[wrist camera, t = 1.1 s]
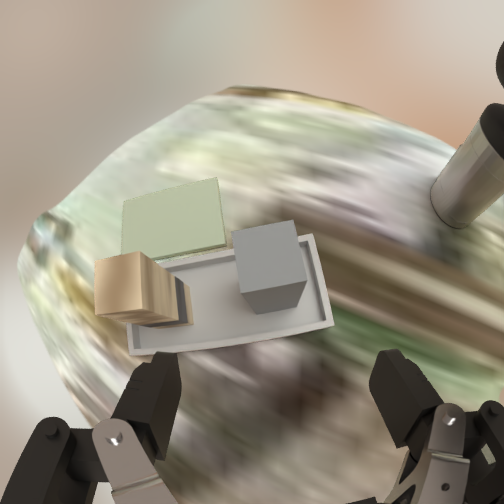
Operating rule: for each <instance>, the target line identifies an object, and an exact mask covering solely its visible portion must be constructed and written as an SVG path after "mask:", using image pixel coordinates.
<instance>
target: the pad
mask: <svg viewBox="0 0 504 504" xmlns="http://www.w3.org/2000/svg"><path fill="white" fill-rule="evenodd" d="M224 246H227V245H226V237H225V230H224V223H223V216H222V208H221V201H220V193H219V185H218V180H217V177H215V178H211V179H206V180H202V181H198V182H193V183H189V184H185V185H181V186H177V187H173V188H169V189H166V190H162V191H158V192H154V193H151V194H147V195H144V196H140V197H137V198H133V199H130V200H127V201H124V203H123V220H122V250H121V255H123V254H127V253H132V252H136V251H141V252H142V253H144V254H145V255H146V256H148V257H149V258H150V259H152V260H153V261H154V260H159V259H164V258H169V257H174V256H179V255H184V254H189V253H194V252H199V251H204V250H209V249H214V248H219V247H224Z"/></svg>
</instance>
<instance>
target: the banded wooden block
mask: <svg viewBox="0 0 504 504" xmlns="http://www.w3.org/2000/svg"><path fill="white" fill-rule="evenodd" d="M94 290H95V315H98V316H102V317H106V318H110V319H114V320H119V321H123V322H127V323H132V324H136V325H140V326H144V327H149V328H156V329H163V328H172V327H179V326H187V325H194V321H193V313H192V304H191V296H190V287H189V286H188V285H186V284H185V283H183V281H181V280H180V279H178V278H177V277H176V276H174V275H172V274H171V273H169V272H168V271H167V270H165V269H164V268H163V267H161V266H160V265H158V264H157V263H156V262H154V261H153V260H152V259H150V258H149V257H148V256H146V255H145V254H144V253H142V252H141V251H136V252H132V253H127V254H123V255H119V256H114V257H110V258H106V259H101V260H97V261H95V281H94Z"/></svg>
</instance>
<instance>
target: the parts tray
mask: <svg viewBox="0 0 504 504" xmlns="http://www.w3.org/2000/svg"><path fill="white" fill-rule="evenodd" d="M297 237H298V241H299V245H300V249H301V254H302V258H303V262H304V266H305V271H306V275H307V279H308V281H307V283H306V286H305V288H304V291H303V293H302V296H301V298H300V301H299V303H298V305H297V307H295V308H290V309H285V310H279V311H274V312H269V313H263V314H258V315H256V313H255V312H254V311H253V309H252V308H251V306H250V305H249V304H248V302H247V301H246V300H245V298H244V297H243V296H242V294H241V292H240V286H239V280H238V273H237V267H236V261H235V254H234V249H229V250H224V251H219V252H214V253H209V254H203V255H198V256H193V257H188V258H183V259H178V260H173V261H168V262H163V263H158V265H160V266H161V267H163V268H164V269H165V270H167V271H168V272H169V273H171V274H172V275H174V276H176V277H177V278H178V279H180V280H181V281H183V283H185V284H186V285H188V286H189V287H190V296H191V304H192V313H193V321H194V325H187V326H179V327H172V328H163V329H156V328H149V327H144V326H140V325H136V324H132V323H127V322H126V326H127V337H128V347H129V356H142V355H155V353H156V352H157V351H161V352H171V353H179V352H188V351H197V350H206V349H213V348H221V347H228V346H235V345H241V344H248V343H254V342H260V341H266V340H271V339H277V338H282V337H287V336H292V335H297V334H302V333H306V332H311V331H316V330H320V329H324V328H329V327H332V326H334V320H333V316H332V311H331V306H330V302H329V297H328V293H327V289H326V284H325V280H324V276H323V272H322V268H321V264H320V260H319V256H318V252H317V248H316V244H315V240H314V237H313V234H307V235H302V236H297Z"/></svg>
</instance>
